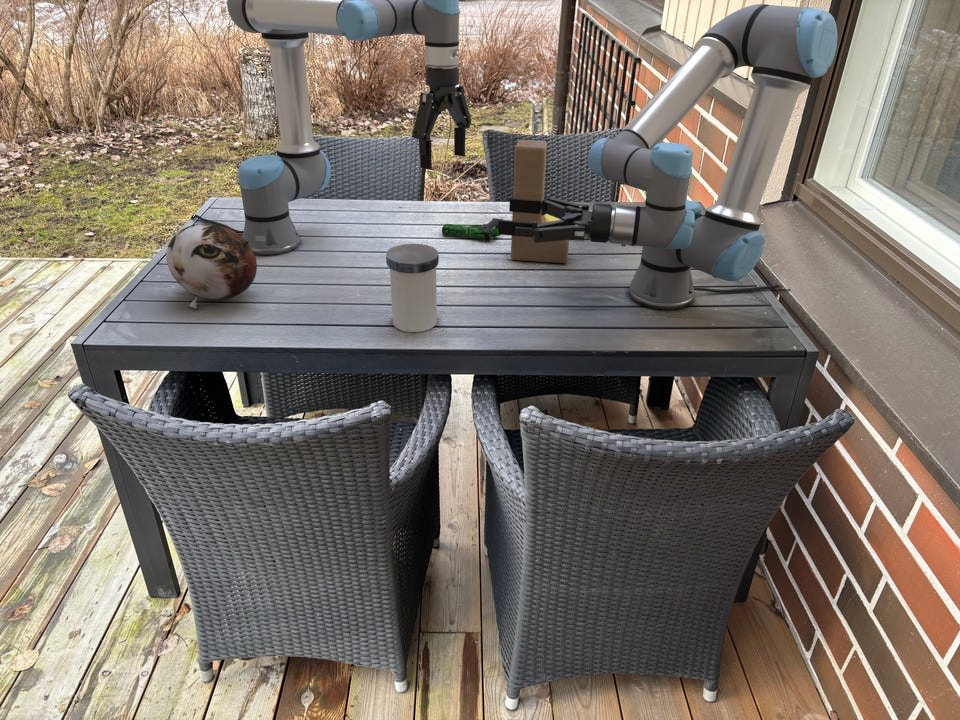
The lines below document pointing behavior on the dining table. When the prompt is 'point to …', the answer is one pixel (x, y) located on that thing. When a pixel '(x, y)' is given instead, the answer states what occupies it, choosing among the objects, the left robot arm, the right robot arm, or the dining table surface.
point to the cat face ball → (211, 261)
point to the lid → (412, 258)
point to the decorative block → (532, 187)
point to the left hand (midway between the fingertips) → (443, 161)
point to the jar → (414, 300)
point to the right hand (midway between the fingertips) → (504, 215)
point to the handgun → (474, 230)
